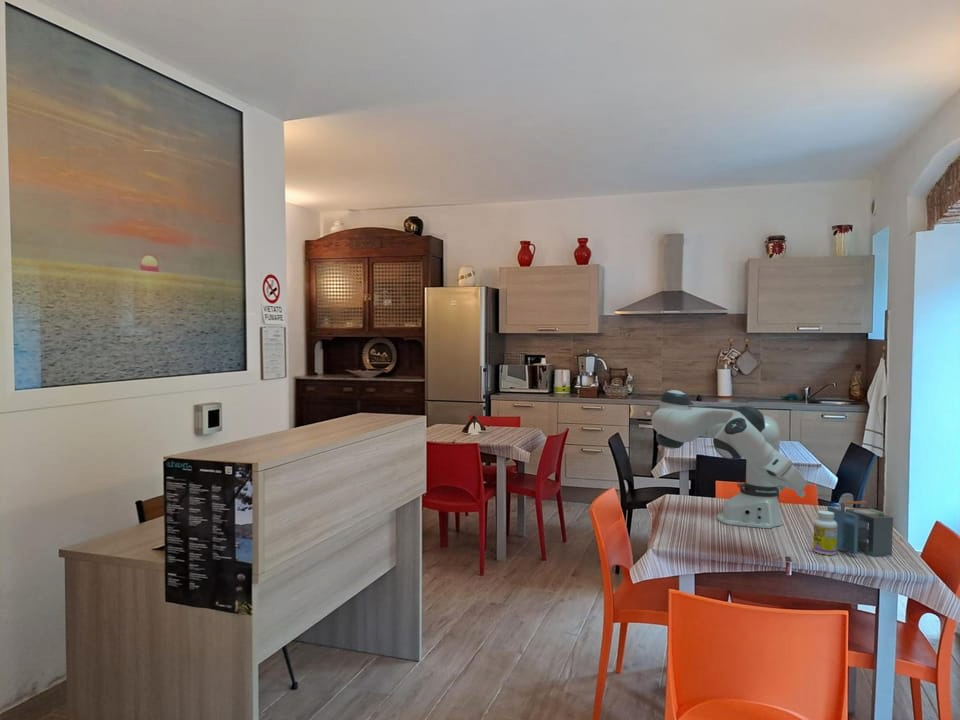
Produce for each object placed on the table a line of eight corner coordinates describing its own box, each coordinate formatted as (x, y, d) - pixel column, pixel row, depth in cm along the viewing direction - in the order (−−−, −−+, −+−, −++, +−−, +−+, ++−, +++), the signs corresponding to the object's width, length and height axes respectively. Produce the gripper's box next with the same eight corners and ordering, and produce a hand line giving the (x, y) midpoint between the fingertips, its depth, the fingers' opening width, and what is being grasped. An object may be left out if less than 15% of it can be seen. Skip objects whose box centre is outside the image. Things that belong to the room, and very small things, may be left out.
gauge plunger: (853, 554, 209) (855, 506, 209) (826, 543, 221) (827, 497, 221) (882, 552, 211) (883, 505, 211) (853, 541, 223) (854, 496, 223)
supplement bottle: (809, 549, 218) (810, 509, 217) (831, 549, 217) (832, 510, 217) (818, 555, 211) (819, 514, 211) (840, 556, 210) (841, 515, 210)
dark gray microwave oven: (872, 556, 211) (873, 515, 210) (844, 545, 222) (845, 506, 222) (891, 555, 212) (893, 515, 212) (862, 544, 224) (863, 505, 223)
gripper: (739, 462, 218) (765, 491, 221) (779, 474, 198) (807, 507, 201) (752, 448, 219) (777, 478, 221) (793, 459, 199) (821, 491, 201)
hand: (792, 492), depth 211 cm, fingers open, 8 cm apart
